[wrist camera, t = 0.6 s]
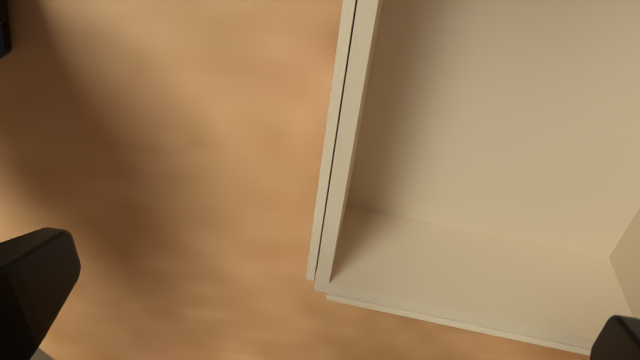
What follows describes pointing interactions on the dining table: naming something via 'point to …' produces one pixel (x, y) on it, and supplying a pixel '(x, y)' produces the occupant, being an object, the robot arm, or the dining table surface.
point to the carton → (484, 166)
